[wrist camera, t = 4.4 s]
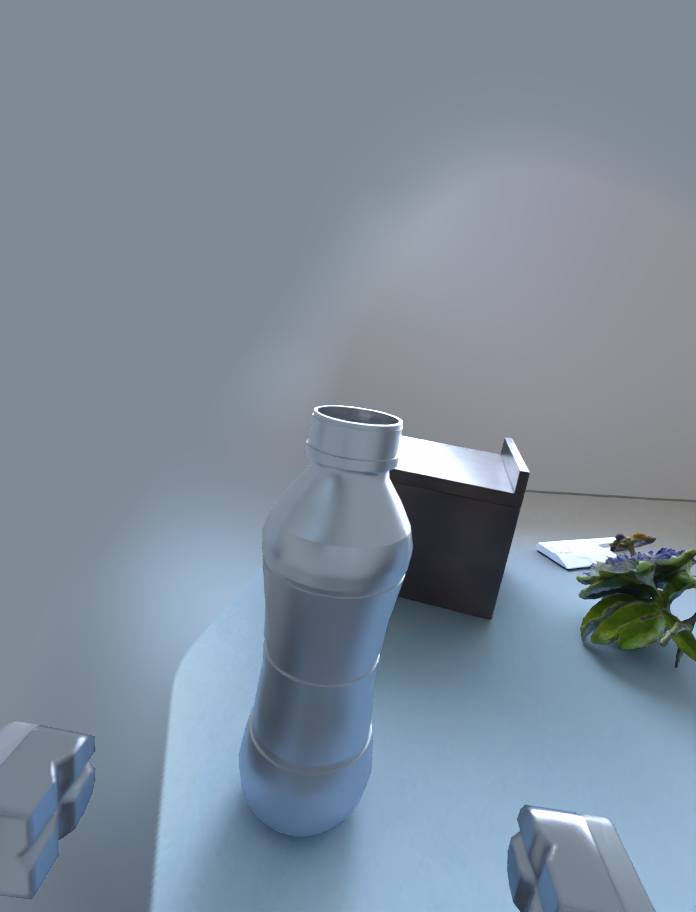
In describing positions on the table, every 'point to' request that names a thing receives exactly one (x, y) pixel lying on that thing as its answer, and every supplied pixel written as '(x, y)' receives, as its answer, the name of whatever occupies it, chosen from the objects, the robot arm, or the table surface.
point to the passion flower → (639, 597)
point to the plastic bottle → (325, 623)
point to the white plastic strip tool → (577, 551)
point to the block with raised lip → (458, 521)
